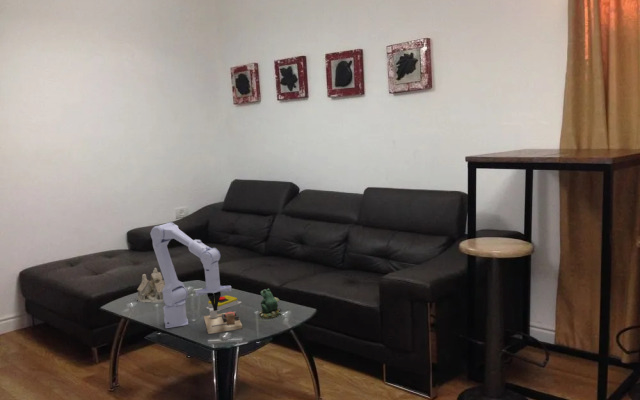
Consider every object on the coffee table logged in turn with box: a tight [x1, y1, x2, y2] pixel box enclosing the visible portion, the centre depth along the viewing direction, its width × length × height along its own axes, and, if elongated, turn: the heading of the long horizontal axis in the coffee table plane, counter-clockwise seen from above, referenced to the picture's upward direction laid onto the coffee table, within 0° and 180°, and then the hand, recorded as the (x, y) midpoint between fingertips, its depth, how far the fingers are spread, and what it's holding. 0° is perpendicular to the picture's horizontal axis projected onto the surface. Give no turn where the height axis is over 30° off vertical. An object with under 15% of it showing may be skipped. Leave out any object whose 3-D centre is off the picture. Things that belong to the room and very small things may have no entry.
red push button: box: [224, 311, 235, 317], centre depth 235 cm, size 4×4×2 cm
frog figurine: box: [252, 288, 282, 322], centre depth 242 cm, size 18×18×12 cm
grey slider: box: [208, 308, 218, 318], centre depth 238 cm, size 3×3×4 cm
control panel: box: [203, 311, 243, 335], centre depth 234 cm, size 14×18×3 cm
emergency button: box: [205, 294, 243, 312], centre depth 258 cm, size 9×4×15 cm
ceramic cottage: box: [136, 267, 165, 304], centre depth 273 cm, size 16×16×15 cm
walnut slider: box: [226, 313, 235, 324], centre depth 229 cm, size 3×3×4 cm
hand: (215, 309), depth 227 cm, fingers closed
